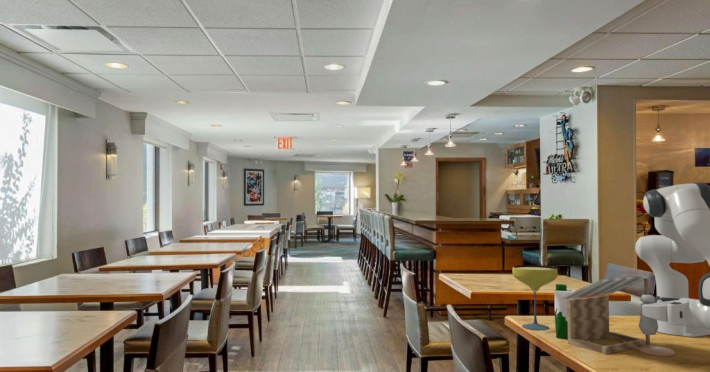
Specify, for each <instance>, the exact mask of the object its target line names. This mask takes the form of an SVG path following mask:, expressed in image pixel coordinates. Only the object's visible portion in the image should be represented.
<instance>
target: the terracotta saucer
mask: <svg viewBox="0 0 710 372" xmlns="http://www.w3.org/2000/svg"><path fill="white" fill-rule="evenodd" d="M637 351H638V352H640V353H641V354H646V355H650V356H656V357H673V356H675V351H674V350H673V349H671V348H668V347H664V346H659V345H651V344H650V345H646V344H645V345H644V346H638V347H637Z"/></svg>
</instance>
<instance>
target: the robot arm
mask: <svg viewBox="0 0 710 372" xmlns="http://www.w3.org/2000/svg"><path fill="white" fill-rule="evenodd" d="M642 205H643V208H644V210H645V212H646V214H647V215H649V216H650V217H652V218H654V227H655V230H656V231H657V232H658V233H659V235H658V234H652V235H643V236H639V238H638V239H637V241H636V242H635V245H634V248H635V253H636V255H637V256H638V258H639V259H640V260H642V261H643V262H645V263H646V264H647V266H649V268H650V269H651V271H652V272H653V275H654V277H655V278H654V280H655V285H656V295H655V302H654V303H652V304H646V303H643V302H641V303H640V309H641V311H642V313H643V315H644V316H645V317H648V318H652V319H656V320H657V323H658V330H657V333H661V334H667V335H674V336H683V337H690V338H694V337H705V336H710V271H709V272H707V273H705V274H703V276H701V278H700V279H699V282H698V291H697V293H698V299H697V298H693V297H692V298H690V297H689V296H690V295H689V280H688V278H687V276H686V275H685V274H683V273H681V272H680V271H677V270H675V269H673V268H672V267H671V266H670V264H671V263H674V264H675V263H677V264H680V263H681V264H695V263H703V262H705V261H707V264H708V267H710V185H708V184H707V183H705V182H700V181H699V182H696V181H695V182H693V183H682V184H681V183H680V184H674V185H669V186H666V187H665V186H664V187H661V188H657V189H656V188H654V189H651V190H648V191H646V193H645V194H644V196H643V200H642Z"/></svg>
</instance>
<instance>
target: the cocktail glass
mask: <svg viewBox="0 0 710 372" xmlns="http://www.w3.org/2000/svg"><path fill="white" fill-rule="evenodd" d="M558 273H559V272H558V268H557V267H553V266H547V265H529V264H527V265H526V264H524V265H523V264H522V265H514V266H512V276H513V277H514V278H515V279H516V280H517V281H518V282H521V283H522V284H525V285H526V286H528V287H529V288H530V290H531V291H532V292H533V293H534V294H533V298H534V301H533V302H534V307H533V308H534V309H533V310H534V312H533V313H534V314H533V315H534V316H533V322H532V323H525V324H522V325H521V327H522V328H524V329H527V330H530V331H531V330H532V331H547V330H549V329H550V327H549V326H547V325H544V324H541V323H538V320H537V318H538V317H537V297H536V295H537V292H538V291H539V290H540V289H541V288H542V287H543V286H546V285H548V284H550V283H552V282H554V281H555V280H556V279H557V278H558V275H559V274H558Z"/></svg>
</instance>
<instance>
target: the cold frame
mask: <svg viewBox="0 0 710 372" xmlns="http://www.w3.org/2000/svg"><path fill="white" fill-rule="evenodd" d="M649 278H650V275H649V274H648V275H637V276H625V277H616V278H604V279H598V280H595V281H594V282H592V283H589V284H587V285H585V286H583V287H581V288H578V289H576V291H574V292H572V293H570V294H568V295H566V296H564V297H563V299H568V298H577V297H580V298H579V299H570V300H567V315H568V339H567V344H568V345H571V346H575V347H579V348H582V349H586V350H590V351H594V352H597V353H600V354H601V353H602V354H605V355H607V354H611V353H616V352H620V351H627V350H632V349H636V348H637V349H638V346H644V345H650V346H651V337H650V336H651V335H647V334H644V335H645V339H643V338H639V337H634V336H629V335H625V334H621V333H617V332H611V331H610V303H609V302H610V299H609V298H610V297H609V296H610V294H614V293H617V292H618V291H621V290H624V289H626V288H629V287H630V286H633V285H635V284H637V283H641V282H642V281H643V289H644V290H643V291H644V293H643V295H650V293H649V289H650V288H649ZM603 339H611V340H614V341H618V342H619V343H614V344H609V345H601V344H597V343H593V342H594V341H597V340H603ZM591 341H593V342H591Z"/></svg>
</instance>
